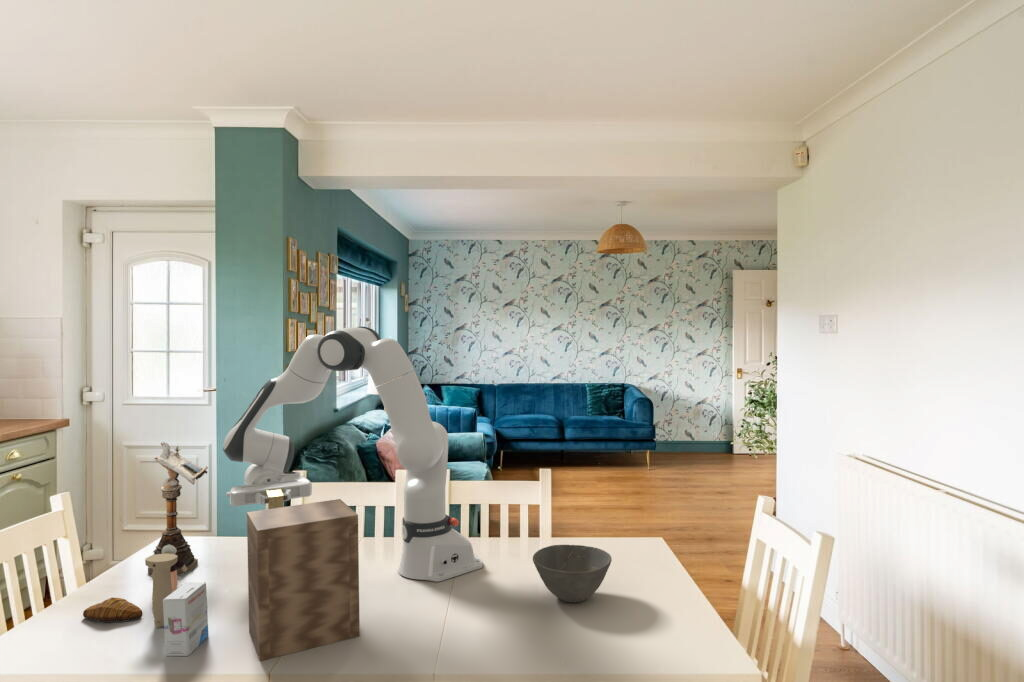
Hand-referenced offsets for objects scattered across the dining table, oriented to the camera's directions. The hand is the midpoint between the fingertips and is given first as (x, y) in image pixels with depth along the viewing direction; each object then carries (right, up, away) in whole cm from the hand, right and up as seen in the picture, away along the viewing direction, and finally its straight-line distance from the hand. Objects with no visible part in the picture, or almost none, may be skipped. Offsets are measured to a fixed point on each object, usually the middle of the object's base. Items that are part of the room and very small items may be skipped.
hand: (276, 499), depth 165 cm
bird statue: (-30, -22, +12) cm, 39 cm away
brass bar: (-3, -9, +6) cm, 12 cm away
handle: (-17, -23, -21) cm, 35 cm away
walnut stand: (+15, -23, -25) cm, 37 cm away
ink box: (-7, -23, -30) cm, 39 cm away
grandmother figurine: (-24, -22, -6) cm, 33 cm away
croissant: (-31, -23, -18) cm, 42 cm away
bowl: (+74, -22, -8) cm, 78 cm away
